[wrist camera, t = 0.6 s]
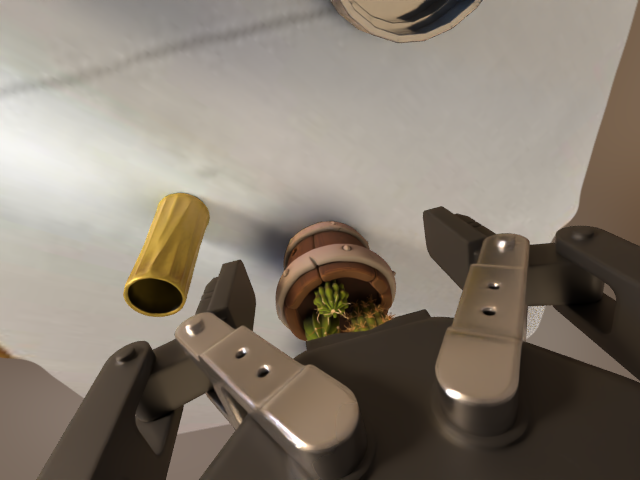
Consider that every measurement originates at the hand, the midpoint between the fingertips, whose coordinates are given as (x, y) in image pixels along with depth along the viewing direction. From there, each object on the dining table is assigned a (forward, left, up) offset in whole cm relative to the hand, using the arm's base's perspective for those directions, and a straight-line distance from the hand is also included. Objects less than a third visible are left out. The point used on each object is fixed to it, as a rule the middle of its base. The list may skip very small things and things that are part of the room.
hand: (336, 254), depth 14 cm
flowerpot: (+18, -10, -26) cm, 34 cm away
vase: (+1, -19, -26) cm, 33 cm away
